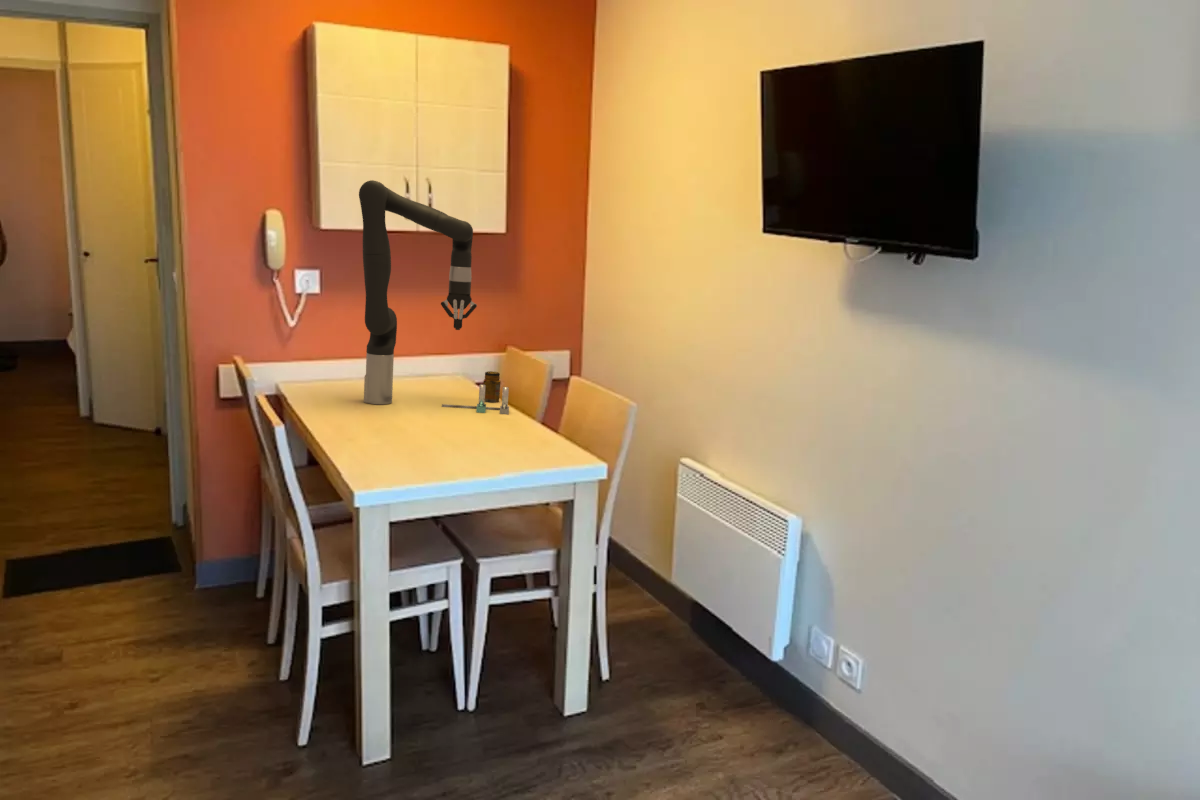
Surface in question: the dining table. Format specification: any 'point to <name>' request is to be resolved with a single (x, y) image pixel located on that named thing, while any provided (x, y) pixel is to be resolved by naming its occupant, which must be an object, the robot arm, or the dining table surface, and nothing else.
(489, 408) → the gauge board
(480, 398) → the slider leg
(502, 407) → the fixed leg
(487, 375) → the condiment
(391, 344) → the robot arm
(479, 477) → the dining table surface
